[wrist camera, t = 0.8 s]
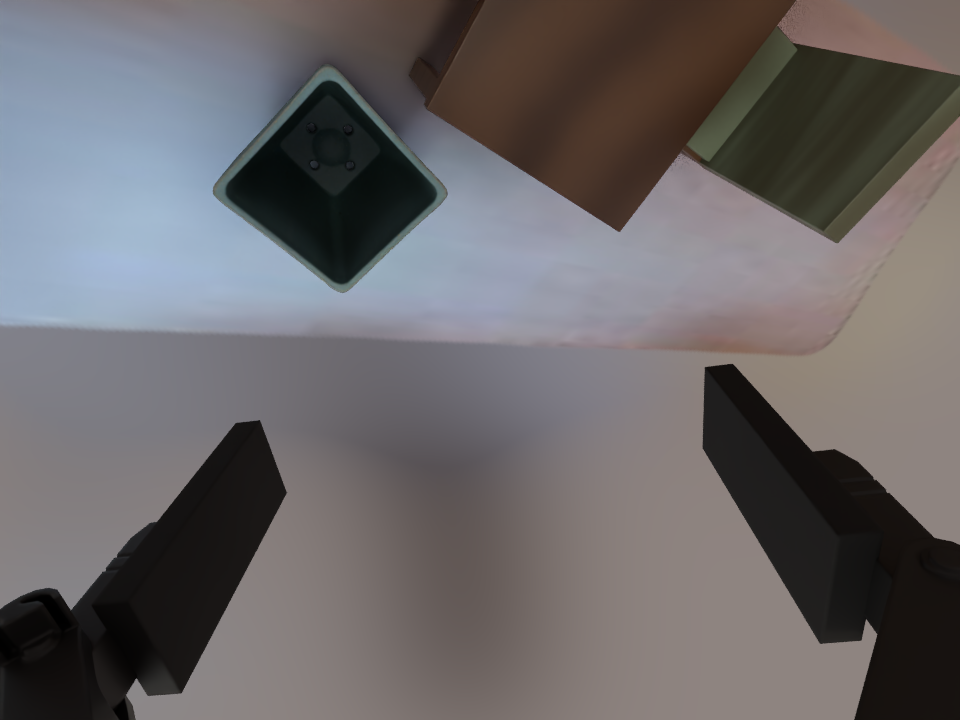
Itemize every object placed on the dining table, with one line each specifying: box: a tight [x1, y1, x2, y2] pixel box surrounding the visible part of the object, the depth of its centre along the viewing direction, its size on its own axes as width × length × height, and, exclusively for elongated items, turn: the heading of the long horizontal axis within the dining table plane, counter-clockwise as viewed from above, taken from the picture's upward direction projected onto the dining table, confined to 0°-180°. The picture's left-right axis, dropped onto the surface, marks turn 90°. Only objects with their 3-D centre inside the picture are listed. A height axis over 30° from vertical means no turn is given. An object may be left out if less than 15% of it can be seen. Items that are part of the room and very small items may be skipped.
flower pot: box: [213, 64, 447, 293], centre depth 32 cm, size 9×9×9 cm
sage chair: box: [680, 26, 960, 243], centre depth 31 cm, size 8×8×17 cm
